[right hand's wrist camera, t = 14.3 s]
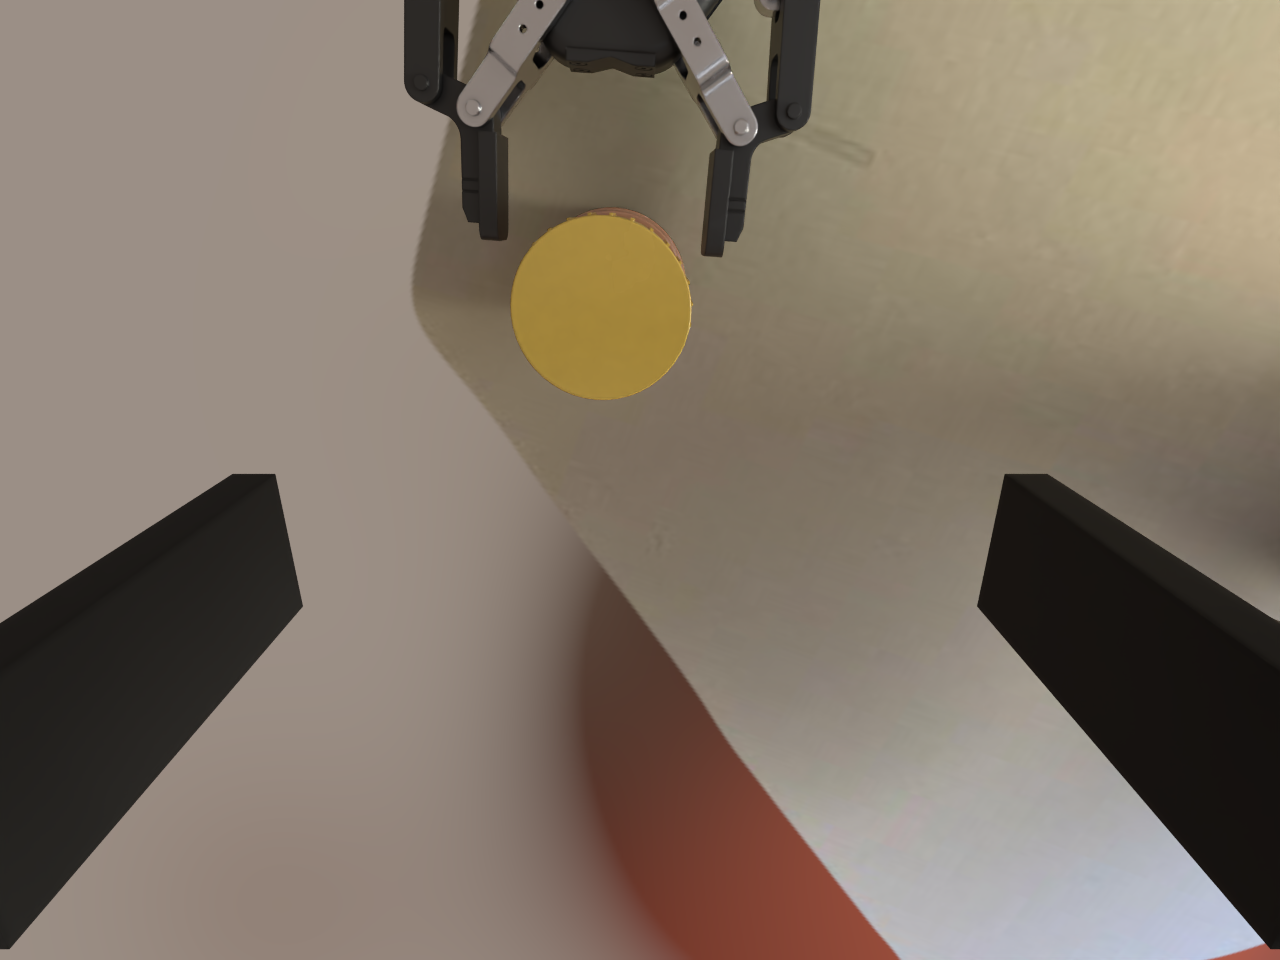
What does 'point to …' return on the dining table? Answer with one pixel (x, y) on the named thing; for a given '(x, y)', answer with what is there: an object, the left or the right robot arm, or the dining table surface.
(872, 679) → the dining table surface
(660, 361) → the cap
